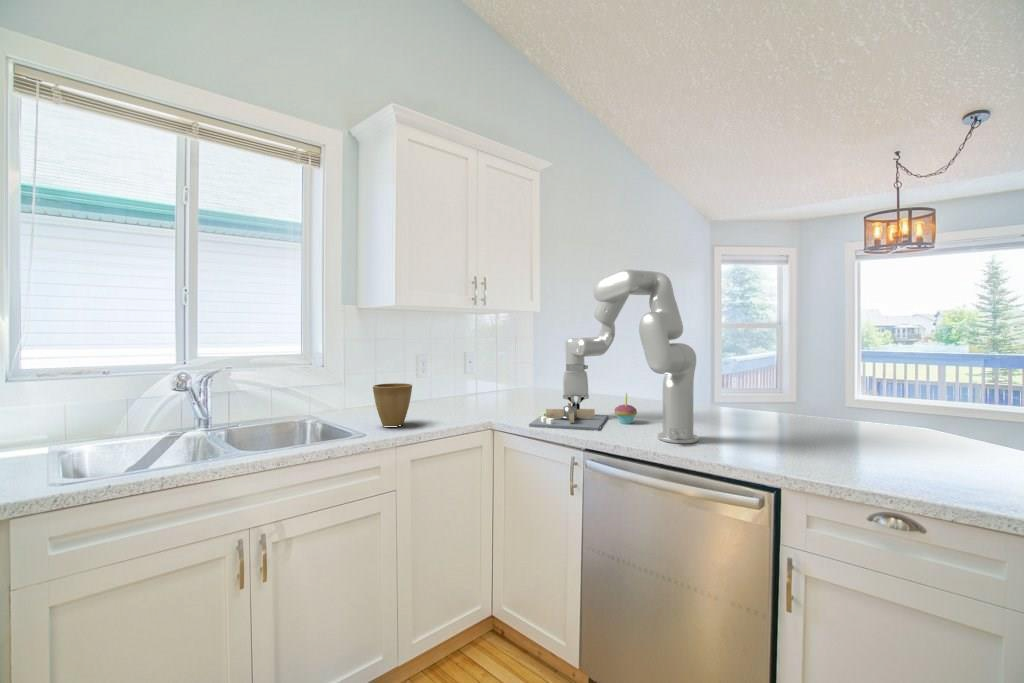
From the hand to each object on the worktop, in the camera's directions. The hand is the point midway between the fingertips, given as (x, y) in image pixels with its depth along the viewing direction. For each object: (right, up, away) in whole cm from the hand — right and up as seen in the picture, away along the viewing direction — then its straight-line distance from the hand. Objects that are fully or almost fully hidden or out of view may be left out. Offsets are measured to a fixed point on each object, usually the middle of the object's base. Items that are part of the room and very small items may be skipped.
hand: (576, 412), depth 191 cm
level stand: (-3, -3, -7) cm, 8 cm away
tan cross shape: (-3, -1, -7) cm, 8 cm away
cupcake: (+18, -3, -10) cm, 21 cm away
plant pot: (-72, -4, -10) cm, 73 cm away
